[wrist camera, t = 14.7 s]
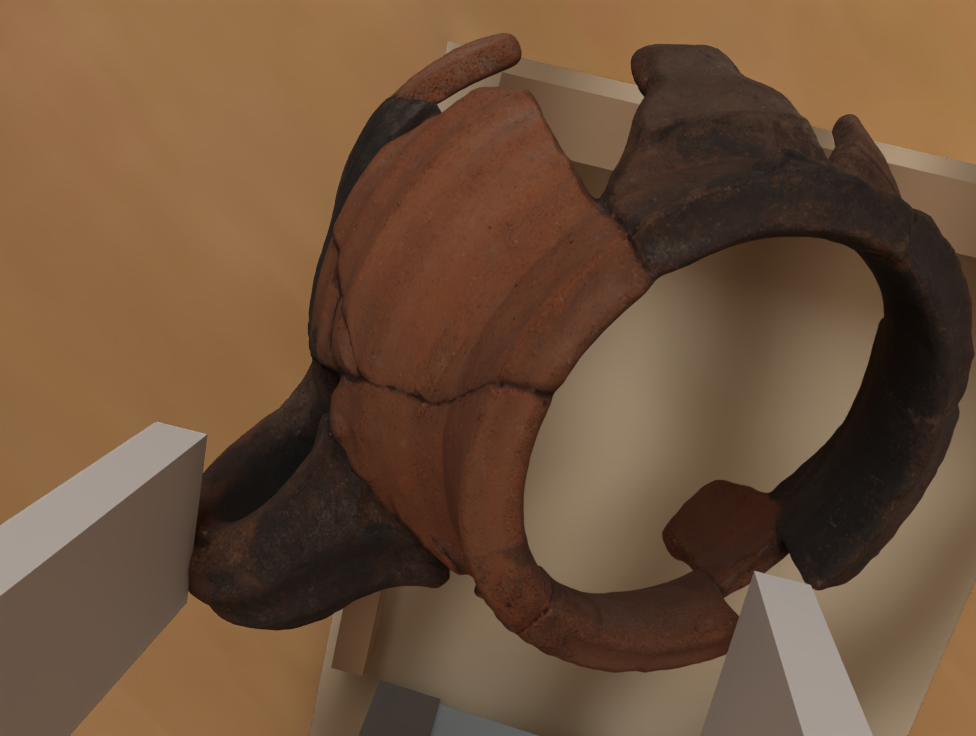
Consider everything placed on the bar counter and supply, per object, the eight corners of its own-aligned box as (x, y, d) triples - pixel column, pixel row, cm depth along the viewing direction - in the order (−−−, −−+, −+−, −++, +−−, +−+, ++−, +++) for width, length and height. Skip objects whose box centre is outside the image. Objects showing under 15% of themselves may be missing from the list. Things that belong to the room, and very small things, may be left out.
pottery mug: (584, -120, 15) (930, -117, 9) (780, 274, 21) (1095, 474, 14) (38, 312, 16) (-52, 645, 9) (363, 591, 21) (464, 939, 14)
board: (310, 755, 32) (258, 869, 27) (454, 43, 25) (418, 27, 20) (819, 897, 31) (859, 1042, 26) (1117, 200, 24) (1246, 221, 19)
